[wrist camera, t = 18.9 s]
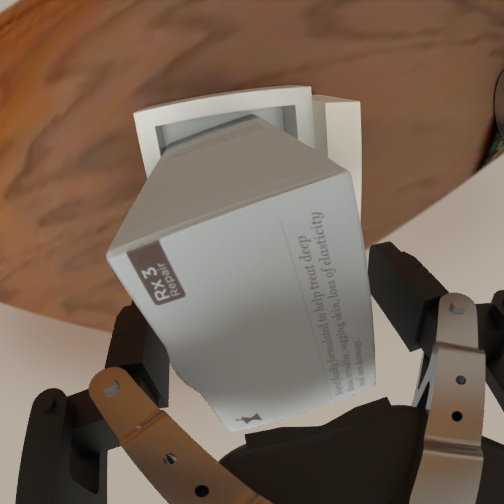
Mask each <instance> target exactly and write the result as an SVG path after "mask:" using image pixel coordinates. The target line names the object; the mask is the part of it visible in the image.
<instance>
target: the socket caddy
mask: <svg viewBox="0 0 504 504" xmlns="http://www.w3.org/2000/svg"><path fill="white" fill-rule="evenodd" d="M133 114H134V119H135V125H136V129H137V134H138V139H139V144H140V149H141V153H142V158H143V162H144V167H145V171H146V175H147V179H148V177H149V176H150V174H151V172H152V171H153V169H154V168H155V166H156V164H157V163H158V161H159V159H160V158H161V156H162V155H163V153H164V152H165V150H166V149H167V147H168V145H169V144H170V143H173V142H175V141H178V140H180V139H183V138H185V137H188V136H191V135H193V134H196V133H198V132H201V131H204V130H206V129H209V128H212V127H215V126H218V125H220V124H223V123H226V122H229V121H232V120H235V119H238V118H241V117H244V116H247V115H250V114H254V115H256V116H258V117H260V118H262V119H263V120H265V121H267V122H269V123H271V124H272V125H274V126H276V127H278V128H279V129H281V130H283V131H285V132H286V133H288V134H290V135H291V136H293V137H294V138H296V139H297V140H299V141H301V142H302V143H304V144H306V145H308V146H309V147H311V148H313V149H315V150H316V148H315V132H314V118H313V105H312V93H311V86H298V85H284V86H272V87H262V88H253V89H245V90H237V91H229V92H222V93H216V94H210V95H204V96H198V97H192V98H187V99H182V100H177V101H172V102H167V103H162V104H158V105H153V106H149V107H145V108H142V109H141V110H139V111H137V112H135V113H133Z"/></svg>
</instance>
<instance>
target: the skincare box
mask: <svg viewBox="0 0 504 504" xmlns="http://www.w3.org/2000/svg"><path fill="white" fill-rule="evenodd" d="M106 258H107V261H108V262H109V264H110V266H111V267H112V269H113V270H114V272H115V273H116V275H117V277H118V278H119V280H120V281H121V283H122V284H123V286H124V288H125V289H126V291H127V292H128V294H129V295H130V297H131V298H132V299H133V301H134V302H135V304H136V305H137V307H138V308H139V310H140V311H141V313H142V314H143V316H144V317H145V319H146V320H147V322H148V323H149V324H150V326H151V327H152V329H153V330H154V332H155V333H156V335H157V336H158V337H159V339H160V340H161V342H162V343H163V345H164V346H165V348H166V350H167V353H168V356H169V359H170V363H171V365H172V367H173V369H174V370H175V372H176V374H177V375H178V376H179V377H180V378H181V380H183V382H184V383H186V384H187V385H188V386H190V387H191V388H193V389H194V390H196V391H198V392H199V393H200V394H201V395H202V396H203V398H204V399H205V400H206V401H207V402H208V404H209V405H210V406H211V408H212V409H213V411H214V412H215V413H216V415H217V416H218V418H219V419H220V421H221V423H222V425H223V426H224V427H225V428H226V430H228V431H230V432H235V431H240V430H244V429H248V428H252V427H256V426H260V425H264V424H267V423H271V422H275V421H278V420H282V419H285V418H288V417H291V416H294V415H297V414H300V413H303V412H305V411H308V410H311V409H314V408H317V407H320V406H323V405H326V404H329V403H331V402H335V401H338V400H341V399H344V398H347V397H350V396H353V395H355V394H358V393H360V392H362V391H365V390H367V389H369V388H371V387H373V386H374V385H375V384H376V368H375V344H374V331H373V314H372V304H371V294H370V285H369V277H368V269H367V262H366V254H365V247H364V240H363V234H362V228H361V223H360V217H359V212H358V207H357V202H356V197H355V192H354V187H353V181H352V177H351V173H350V172H349V171H348V170H347V169H345V168H343V167H341V166H340V165H338V164H337V163H335V162H334V161H332V160H331V159H329V158H327V157H326V156H324V155H322V154H321V153H319V152H318V151H316V150H315V149H313V148H311V147H309V146H308V145H306V144H304V143H302V142H301V141H299V140H297V139H296V138H294V137H293V136H291V135H290V134H288V133H286V132H285V131H283V130H281V129H279V128H278V127H276V126H274V125H272V124H271V123H269V122H267V121H265V120H263V119H262V118H260V117H258V116H256V115H254V114H250V115H247V116H244V117H241V118H238V119H235V120H232V121H229V122H226V123H223V124H220V125H218V126H215V127H212V128H209V129H206V130H204V131H201V132H198V133H196V134H193V135H191V136H188V137H185V138H183V139H180V140H178V141H175V142H173V143H170V144H169V145H168V147H167V149H166V150H165V152H164V153H163V155H162V156H161V158H160V159H159V161H158V163H157V164H156V166H155V168H154V169H153V171H152V172H151V174H150V176H149V177H148V179H147V181H146V182H145V184H144V186H143V188H142V189H141V191H140V193H139V195H138V196H137V198H136V200H135V202H134V203H133V205H132V207H131V209H130V210H129V212H128V214H127V216H126V217H125V219H124V221H123V223H122V225H121V227H120V228H119V230H118V232H117V234H116V236H115V238H114V239H113V241H112V243H111V245H110V247H109V249H108V251H107V254H106Z"/></svg>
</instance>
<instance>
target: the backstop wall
mask: <svg viewBox="0 0 504 504" xmlns="http://www.w3.org/2000/svg"><path fill="white" fill-rule="evenodd" d="M312 105H313V118H314V132H315V148H316V151H318V152H319V153H321V154H322V155H324V156H326V157H327V158H329V159H331V160H332V161H334V162H335V163H337V164H338V165H340V166H341V167H343V168H345V169H347V170H348V171H349V172H350V173H351V177H352V181H353V187H354V192H355V197H356V202H357V207H358V212H359V217H360V219H361V182H362V147H361V111H360V102H359V101H354V100H349V99H343V98H338V97H332V96H326V95H319V94H318V95H312Z"/></svg>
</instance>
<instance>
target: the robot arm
mask: <svg viewBox="0 0 504 504" xmlns="http://www.w3.org/2000/svg"><path fill="white" fill-rule="evenodd" d="M495 117H496V123H497V127H498V130H499V133H500V135H501V137H502V139H503V140H504V71H503V72H502V74H501V76H500V78H499V81H498V83H497V87H496V92H495ZM368 277H369V285H370V293H371V295H372V296H373V298H374V299H375V300H376V302H377V303H378V305H379V306H380V308H381V309H382V310H383V312H384V313H385V315H386V316H387V318H388V319H389V321H390V322H391V324H392V325H393V327H394V328H395V330H396V331H397V332H398V334H399V336H400V337H401V339H402V340H403V341H404V343H405V345H406V346H407V347H408V349H409V351H410V352H412V351H414V350H417V349H420V348H422V350H423V351H424V352H423V355H422V359H421V365H420V370H419V376H418V381H417V386H416V391H415V395H414V399H413V403H412V405H411V406H406V405H392V406H391V404H390V402H389V400H388V398H387V397H385V398H382V399H379V400H376V401H373V402H370V403H367V404H364V405H361V406H358V407H355V408H353V409H352V410H350V411H348V412H346V413H345V414H343V415H341V416H339V417H338V418H336V419H334V420H332V421H330V422H329V423H327V424H325V425H322V426H318V427H317V426H315V427H281V428H275V429H271V430H266V431H261V432H255V433H250V434H245V439H246V444H244V445H242V446H240V447H238V448H236V449H234V450H233V451H231V452H229V453H228V454H227V455H225V456H224V457H223V458H222V459H220V460H219V461H216V460H215V459H214V458H213V457H212V456H211V455H210V454H209V453H207V452H206V451H205V450H204V449H203V448H202V447H201V446H200V445H199V444H198V443H197V442H196V441H194V440H193V439H192V438H191V437H190V436H189V435H188V434H187V433H186V432H185V431H184V430H183V429H182V428H181V427H180V426H179V425H178V424H177V423H176V422H175V421H174V420H173V419H172V418H171V417H170V416H169V415H168V414H167V413H166V412H165V411H163V410H162V411H161V410H160V409H159V408H165V407H168V399H169V397H168V396H169V395H168V394H169V363H170V359H169V356H168V353H167V350H166V348H165V346H164V345H163V343H162V342H161V340H160V339H159V337H158V336H157V335H156V333H155V332H154V330H153V329H152V327H151V326H150V324H149V323H148V322H147V320H146V319H145V317H144V316H143V314H142V313H141V311H140V310H139V308H138V307H137V305H136V304H135V302H134V301H133V300H132V304H131V306H125V307H124V308H123V309H122V310H121V312H120V313H119V314H118V316H117V318H116V322H115V326H114V330H113V334H112V338H111V342H110V346H109V351H108V355H107V360H106V364H105V369H104V370H102V371H100V372H98V373H97V374H96V375H95V376H94V377H93V379H92V380H91V382H90V384H89V389H87V390H84V391H82V392H79V393H76V394H73V395H71V396H68V397H67V396H66V395H65V394H64V393H63V391H61V390H59V389H56V388H51V389H47V390H45V391H43V392H42V393H40V394H39V395H38V397H36V399H35V400H34V402H33V405H32V409H31V413H30V417H29V421H28V426H27V431H26V436H25V441H24V446H23V452H22V457H21V463H20V470H19V477H18V486H17V493H16V504H107V452H108V450H110V449H113V448H116V447H119V446H122V448H123V449H124V450H125V452H126V453H127V454H128V456H129V457H130V458H131V460H132V461H133V462H134V463H135V465H136V466H137V467H138V468H139V470H140V471H141V472H142V473H143V474H144V476H145V477H146V478H147V479H148V480H149V482H150V483H151V484H152V485H153V486H154V488H155V489H156V490H157V491H158V492H159V493H160V494H161V496H162V497H163V498H164V499H165V500H166V501H167V502H168V503H169V504H504V445H503V444H500V443H498V442H495V441H493V440H491V439H488V438H486V437H484V436H482V428H483V417H484V402H485V381H486V383H487V384H488V386H489V387H490V389H491V391H492V393H493V394H494V396H495V398H496V399H497V401H498V403H499V404H500V406H501V408H502V410H503V411H504V290H501V291H498V292H496V293H495V294H494V296H493V299H492V302H491V303H485V304H475V303H474V302H473V301H472V300H471V299H470V298H469V297H467V296H465V295H463V294H459V293H449V292H448V291H447V290H446V289H445V288H444V287H443V286H442V285H441V283H440V282H439V281H438V280H437V279H436V278H435V277H434V276H433V275H432V274H431V273H429V271H428V270H427V269H426V268H425V267H424V266H422V264H421V263H420V262H419V261H418V260H417V259H416V258H415V257H414V256H412V255H410V254H408V253H406V252H401V251H400V250H398V248H396V247H395V245H394V244H393V243H391V242H384V243H379V244H375V245H372V246H371V247H370V251H369V265H368Z"/></svg>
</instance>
